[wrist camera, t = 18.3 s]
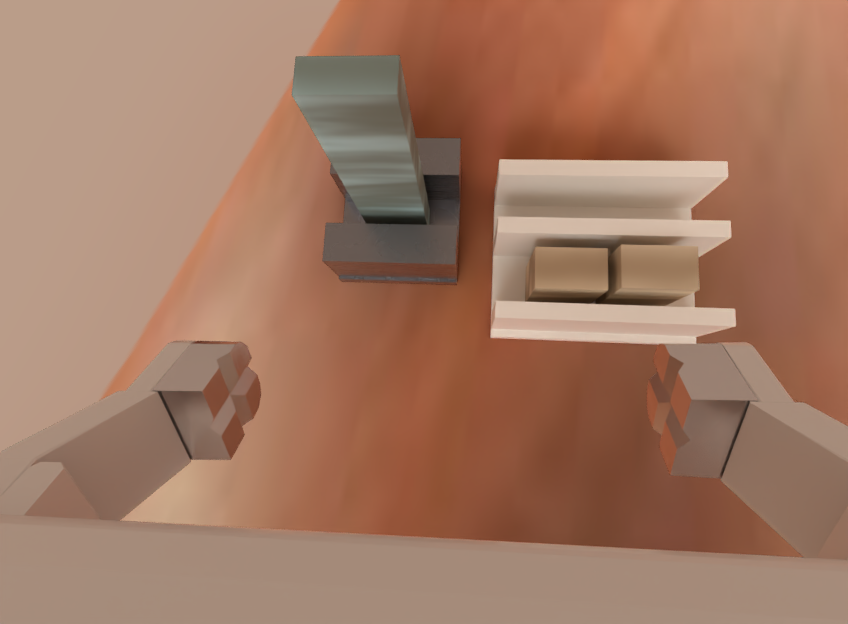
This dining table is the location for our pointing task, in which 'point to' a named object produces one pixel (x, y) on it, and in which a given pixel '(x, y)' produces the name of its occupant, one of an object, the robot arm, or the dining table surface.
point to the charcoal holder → (404, 229)
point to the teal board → (366, 132)
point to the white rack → (600, 243)
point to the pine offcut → (651, 275)
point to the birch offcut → (566, 275)
